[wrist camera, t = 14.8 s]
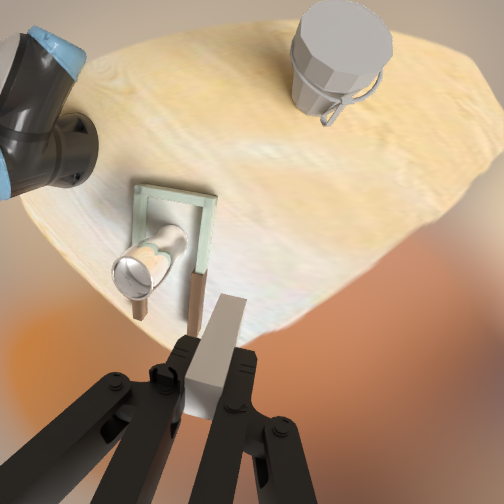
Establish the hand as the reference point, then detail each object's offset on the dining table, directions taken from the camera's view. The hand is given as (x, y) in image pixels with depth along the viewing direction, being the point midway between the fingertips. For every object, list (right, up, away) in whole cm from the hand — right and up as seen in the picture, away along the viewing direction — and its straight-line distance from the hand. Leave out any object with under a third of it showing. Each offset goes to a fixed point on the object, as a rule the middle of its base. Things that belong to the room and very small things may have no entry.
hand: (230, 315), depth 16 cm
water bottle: (+11, +26, +20) cm, 35 cm away
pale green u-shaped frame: (-12, +8, +30) cm, 34 cm away
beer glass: (-13, +6, +32) cm, 34 cm away
